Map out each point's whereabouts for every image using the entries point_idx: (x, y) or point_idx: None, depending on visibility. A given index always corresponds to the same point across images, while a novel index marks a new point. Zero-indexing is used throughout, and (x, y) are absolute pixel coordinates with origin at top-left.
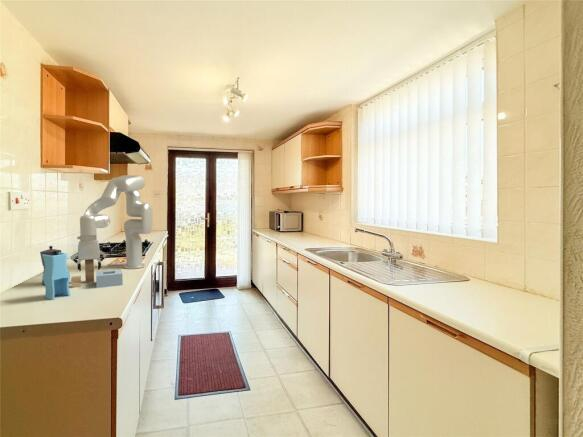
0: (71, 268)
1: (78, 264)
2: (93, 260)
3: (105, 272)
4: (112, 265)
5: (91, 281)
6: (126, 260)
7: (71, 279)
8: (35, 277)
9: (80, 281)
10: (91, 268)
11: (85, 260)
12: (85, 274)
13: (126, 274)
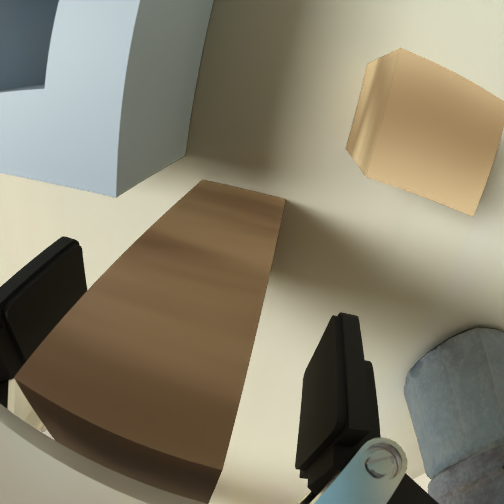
0: (259, 500)
1: (364, 439)
2: (18, 383)
3: (30, 89)
4: None
5: (225, 188)
6: (34, 422)
7: (497, 102)
8: (418, 471)
9: (384, 56)
10: (150, 272)
11: (200, 493)
12: (273, 246)
13: None
